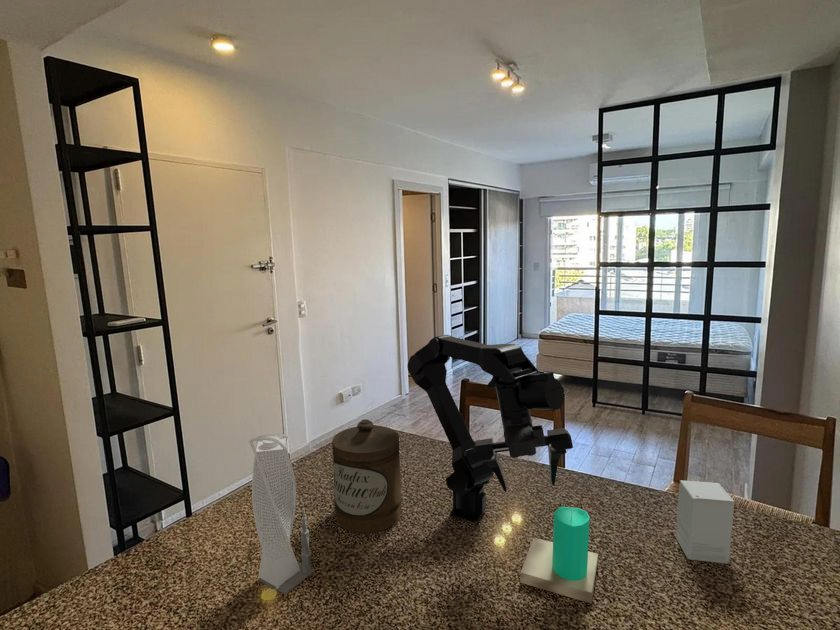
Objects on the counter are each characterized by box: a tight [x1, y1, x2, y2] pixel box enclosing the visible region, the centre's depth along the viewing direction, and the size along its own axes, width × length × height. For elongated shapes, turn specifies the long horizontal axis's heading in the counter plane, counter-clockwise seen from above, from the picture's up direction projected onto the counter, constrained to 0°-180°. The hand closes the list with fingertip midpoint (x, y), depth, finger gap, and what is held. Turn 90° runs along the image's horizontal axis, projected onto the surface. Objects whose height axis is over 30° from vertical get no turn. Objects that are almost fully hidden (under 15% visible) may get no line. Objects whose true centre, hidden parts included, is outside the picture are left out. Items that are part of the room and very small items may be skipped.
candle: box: [552, 505, 591, 581], centre depth 84 cm, size 6×6×12 cm
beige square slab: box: [519, 537, 599, 604], centre depth 87 cm, size 12×11×2 cm
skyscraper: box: [248, 433, 315, 595], centre depth 85 cm, size 8×8×28 cm
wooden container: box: [331, 419, 403, 534], centre depth 105 cm, size 15×15×22 cm
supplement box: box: [675, 479, 736, 564], centre depth 92 cm, size 7×7×13 cm
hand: (529, 488), depth 93 cm, fingers open, 9 cm apart
